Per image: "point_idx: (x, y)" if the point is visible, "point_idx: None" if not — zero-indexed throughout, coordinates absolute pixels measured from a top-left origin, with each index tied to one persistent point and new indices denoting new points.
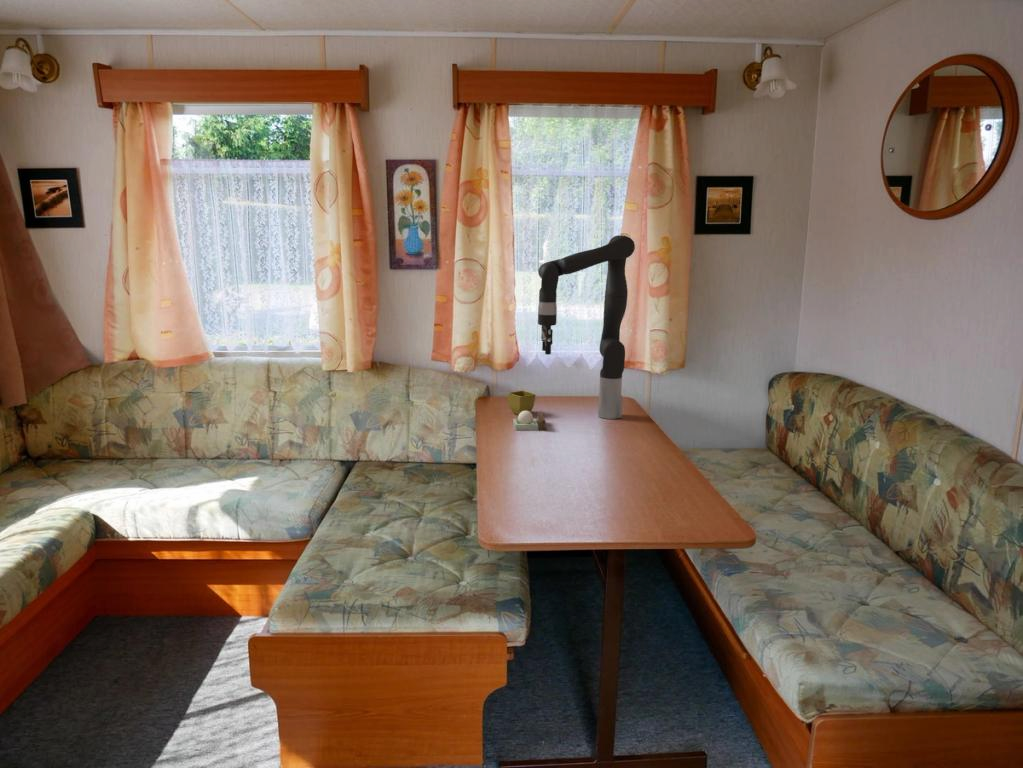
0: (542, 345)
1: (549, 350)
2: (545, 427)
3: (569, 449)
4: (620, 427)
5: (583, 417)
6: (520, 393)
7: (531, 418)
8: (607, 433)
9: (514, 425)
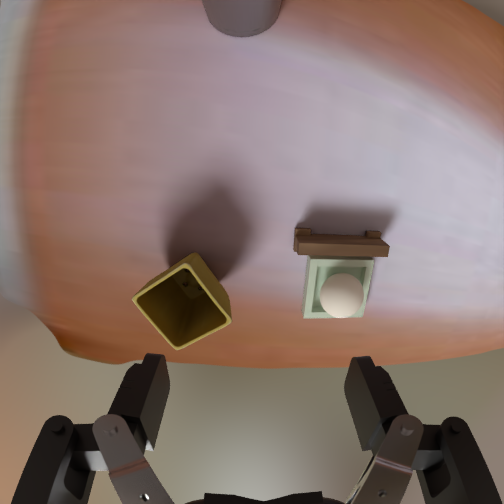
0: (156, 422)
1: (391, 388)
2: (371, 235)
3: (495, 213)
4: (366, 19)
5: (249, 84)
6: (144, 303)
7: (359, 282)
8: (419, 76)
9: None
